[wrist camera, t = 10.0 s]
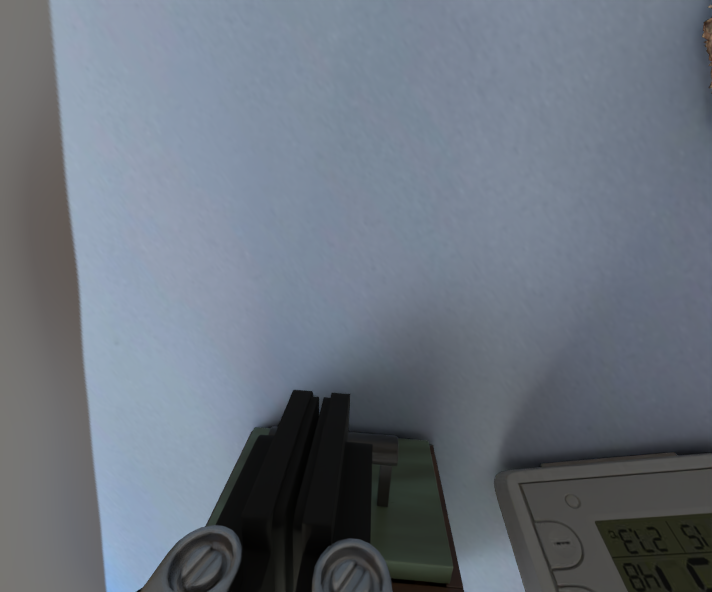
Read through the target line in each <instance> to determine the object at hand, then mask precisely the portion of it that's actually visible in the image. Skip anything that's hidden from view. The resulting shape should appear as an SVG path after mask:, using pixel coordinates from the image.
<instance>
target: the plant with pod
mask: <svg viewBox="0 0 712 592" xmlns="http://www.w3.org/2000/svg"><path fill="white" fill-rule="evenodd" d="M708 7H709V8H712V5H710V6H708ZM703 31H704V33H703V35H702V37H703V38H705V39H707V41H705V42H703V43H707V44H706V45H705V47H707V50H706V51H707V53H708V54H709V60H710V61H712V18H710V19H709V20H707V21H705V22H704V27H703ZM709 66H712V62H711V63H710V64H709ZM711 78H712V69H711ZM709 88H712V82H711V84H710V86H709ZM711 94H712V93H711Z"/></svg>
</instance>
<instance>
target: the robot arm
mask: <svg viewBox="0 0 712 592" xmlns="http://www.w3.org/2000/svg"><path fill="white" fill-rule="evenodd" d="M349 408H350V394H340V393H331V397H330V398H327V397H324V399H323V403H322V407H321V411H320V415H319V397H314V396H313V392H312V391H302V390H293V392H292V394H291V397H290V399H289V402H288V404H287V406H286V409H285V411H284V414H283V416H282V418H281V421H280V423H279V426H278V428H277V430H276V433H275V435H274V436H273V435H259V436H258V438H257V439H256V441H255V443H254V445H253V447H252V450H251V452H250V454H249V456H248V458H247V460H246V462H245V464H244V466H243V468H242V470H241V472H240V475H239V477H238V479H237V481H236V483H235V485H234V487H233V489H232V491H231V493H230V495H229V497H228V500H227V502H226V504H225V506H224V508H223V510H222V512H221V514H220V516H219V518H218V520H217V522H216V525H211V526H206V527H201V528H199V529H197V530H195V531H193V532H190V533H189V534H187V535H186V536H185V537H183V538H182V539H181V540H179V541H178V542H177V543H176V544H175V546H174V547H173V548H172V549H171V550H170V551H169V552H168V554H167V555H166V556H165V558H164V559H163V561H162V562H161V563H160V565H159V566H158V567H157V569H156V570H155V572H154V573H153V574H152V576H151V577H150V579H149V580H148V581H147V583H146V584H145V585H144V587H143V588H141V589H140V590H138V591H137V592H393V590H392V584H391V577H390V573H389V570H388V567H387V563H386V561H385V560H384V558H383V557H382V555H381V553H380V552H379V551H378V550H377V549H376V548H374V547H373V546H372V545H371V544H370V540H371V496H372V453H373V444H368V443H356V442H348V429H349Z"/></svg>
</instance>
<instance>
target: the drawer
mask: <svg viewBox="0 0 712 592" xmlns="http://www.w3.org/2000/svg"><path fill="white" fill-rule="evenodd" d="M277 428H278V427H277V426H273V427H271V428H260V427H255V428H254V430H253V432H252V434H251V436H250V438H249V440H248V442H247V444H246V446H245V448H244V450H243V452H242V455H241V457H240V459H239V461H238V463H237V465H236V467H235V469H234V471H233V473H232V475H231V477H230V479H229V481H228V483H227V485H226V488H225V490H224V492H223V494H222V496H221V498H220V500H219V502H218V504H217V506H216V508H215V510H214V512H213V514H212V516H211V518H210V521H209V523H208V525H207V526H211V525H216V522H217V520H218V518H219V516H220V514H221V512H222V510H223V508H224V506H225V504H226V502H227V500H228V497H229V495H230V493H231V491H232V489H233V487H234V485H235V483H236V481H237V479H238V477H239V475H240V472H241V470H242V468H243V466H244V464H245V462H246V460H247V458H248V456H249V454H250V452H251V450H252V447H253V445H254V443H255V441H256V439H257V438H258V436H259V435H273V436H274V435H275V433H276V430H277ZM348 442H356V443H368V444H373V453H372V496H371V540H370V544H371V545H372V546H373V547H374V548H376V549H377V550H378V551H379V552H380V553H381V555H382V557H383V558H384V560H385V561H386V563H387V567H388V570H389V573H390V577H391V582H395V583H406V584H416V585H427V586H429V582H437V583H448V584H449V583H450V580H451V575H452V571H453V563H452V558H451V553H450V548H449V542H448V537H447V532H446V527H445V522H444V517H443V512H442V507H441V502H440V497H439V492H438V487H437V482H436V477H435V472H434V467H433V462H432V457H431V452H430V446H429V442H428V440H415V439H402V438H398V437H397V436H394V435H381V434H368V433H355V432H348Z"/></svg>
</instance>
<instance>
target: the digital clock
mask: <svg viewBox="0 0 712 592" xmlns="http://www.w3.org/2000/svg"><path fill="white" fill-rule="evenodd" d="M540 465H541V467H539V468H528V469H516V470H507V471H503V472H500V473H498V474H497V475H496V476H495V479H494V485H495V491H496V495H497V499H498V502H499V506H500V509H501V512H502V516H503V519H504V522H505V526H506V529H507V532H508V535H509V539H510V542H511V545H512V549H513V552H514V555H515V559H516V562H517V565H518V569H519V572H520V575H521V578H522V582H523V585H524V588H525V592H712V453H703V454H691V455H680V456H677V454H676V453H675V452H671V453H659V454H648V455H636V456H624V457H613V458H601V459H590V460H578V461H567V462H555V463H543V464H540Z"/></svg>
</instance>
